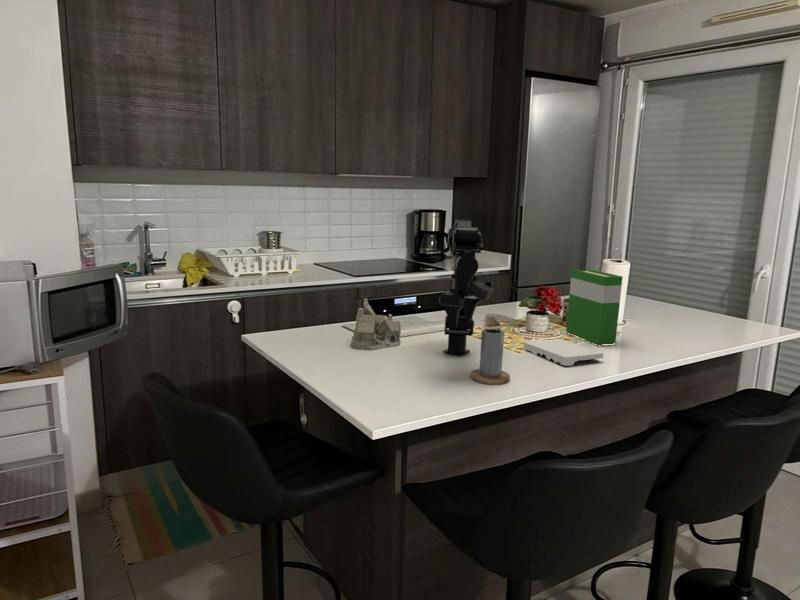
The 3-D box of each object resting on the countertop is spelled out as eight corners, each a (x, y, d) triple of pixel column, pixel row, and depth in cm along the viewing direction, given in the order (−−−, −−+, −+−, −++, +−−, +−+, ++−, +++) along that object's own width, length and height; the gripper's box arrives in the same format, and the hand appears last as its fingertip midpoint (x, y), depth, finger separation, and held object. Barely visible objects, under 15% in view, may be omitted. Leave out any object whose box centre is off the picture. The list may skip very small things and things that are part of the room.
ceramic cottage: (344, 347, 189) (348, 301, 187) (361, 337, 205) (365, 295, 202) (390, 356, 185) (395, 309, 183) (404, 344, 201) (409, 301, 198)
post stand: (480, 369, 172) (481, 353, 171) (515, 377, 166) (516, 360, 165) (463, 379, 163) (464, 362, 162) (500, 387, 157) (501, 370, 156)
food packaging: (523, 352, 195) (564, 368, 177) (523, 342, 194) (565, 357, 176) (559, 348, 201) (602, 363, 183) (559, 339, 200) (603, 353, 183)
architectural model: (502, 336, 212) (503, 316, 211) (487, 338, 209) (488, 318, 207) (496, 334, 215) (497, 314, 214) (481, 336, 212) (482, 316, 210)
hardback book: (565, 333, 218) (571, 269, 213) (582, 332, 221) (588, 268, 216) (597, 346, 202) (605, 277, 197) (615, 344, 205) (622, 276, 200)
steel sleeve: (476, 372, 166) (479, 329, 164) (495, 371, 168) (498, 328, 165) (484, 378, 161) (487, 334, 158) (503, 377, 162) (506, 333, 160)
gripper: (476, 278, 155) (473, 335, 158) (504, 270, 171) (500, 323, 174) (439, 273, 161) (436, 329, 164) (469, 266, 177) (466, 317, 180)
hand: (461, 324), depth 170 cm, fingers open, 9 cm apart
